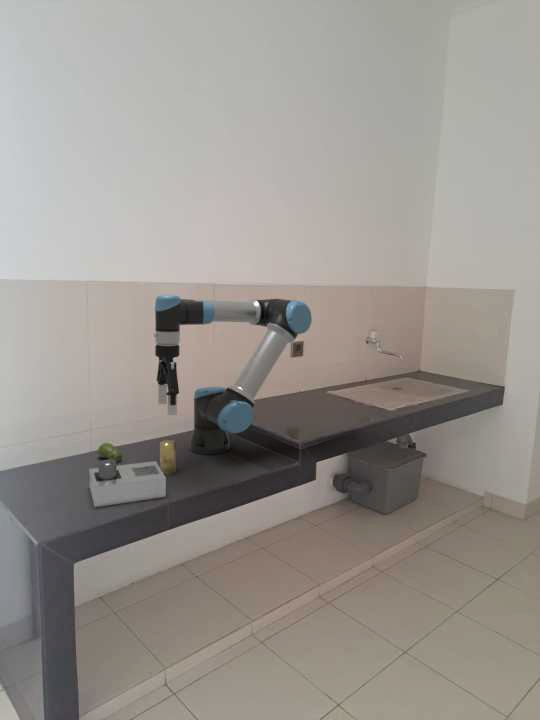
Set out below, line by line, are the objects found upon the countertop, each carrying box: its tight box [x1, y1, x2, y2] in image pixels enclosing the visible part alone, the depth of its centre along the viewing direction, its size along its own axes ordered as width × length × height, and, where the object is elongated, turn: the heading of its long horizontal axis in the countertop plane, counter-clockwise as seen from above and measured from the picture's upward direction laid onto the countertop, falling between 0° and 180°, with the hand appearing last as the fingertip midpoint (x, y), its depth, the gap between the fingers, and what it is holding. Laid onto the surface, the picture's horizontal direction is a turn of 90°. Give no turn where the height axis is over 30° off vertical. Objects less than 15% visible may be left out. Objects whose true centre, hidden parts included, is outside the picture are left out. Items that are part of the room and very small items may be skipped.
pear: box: [97, 442, 123, 463], centre depth 183 cm, size 6×5×10 cm
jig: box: [88, 459, 167, 508], centre depth 156 cm, size 20×14×10 cm
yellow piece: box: [159, 439, 176, 475], centre depth 173 cm, size 5×5×10 cm
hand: (167, 409), depth 170 cm, fingers open, 13 cm apart
